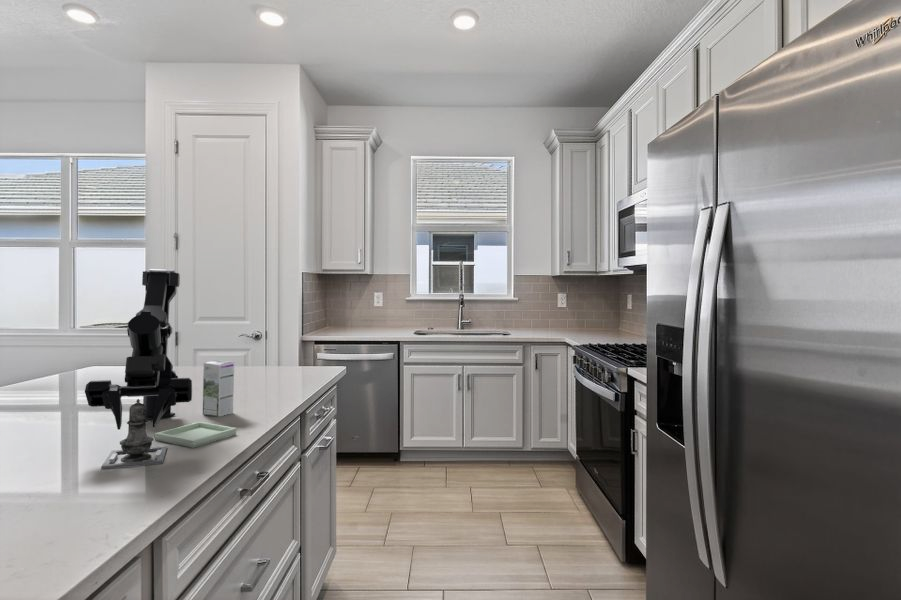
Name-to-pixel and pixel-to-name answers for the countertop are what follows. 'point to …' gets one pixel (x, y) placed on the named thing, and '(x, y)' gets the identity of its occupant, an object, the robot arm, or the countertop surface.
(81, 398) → the countertop surface
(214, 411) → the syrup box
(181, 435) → the tray
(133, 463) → the socket
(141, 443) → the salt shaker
